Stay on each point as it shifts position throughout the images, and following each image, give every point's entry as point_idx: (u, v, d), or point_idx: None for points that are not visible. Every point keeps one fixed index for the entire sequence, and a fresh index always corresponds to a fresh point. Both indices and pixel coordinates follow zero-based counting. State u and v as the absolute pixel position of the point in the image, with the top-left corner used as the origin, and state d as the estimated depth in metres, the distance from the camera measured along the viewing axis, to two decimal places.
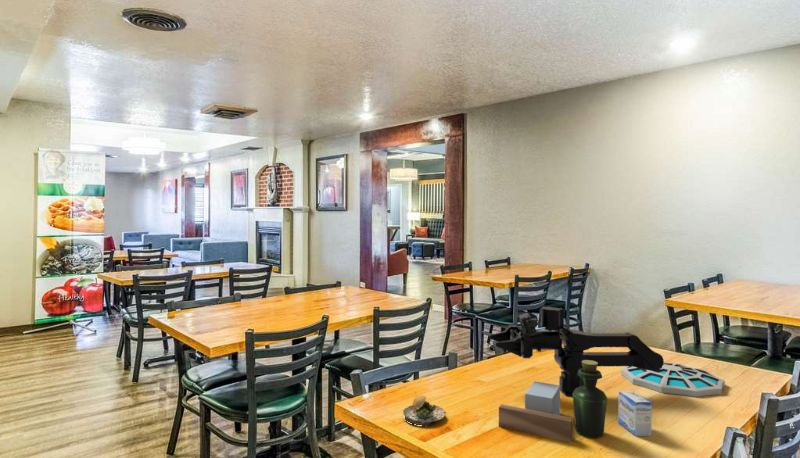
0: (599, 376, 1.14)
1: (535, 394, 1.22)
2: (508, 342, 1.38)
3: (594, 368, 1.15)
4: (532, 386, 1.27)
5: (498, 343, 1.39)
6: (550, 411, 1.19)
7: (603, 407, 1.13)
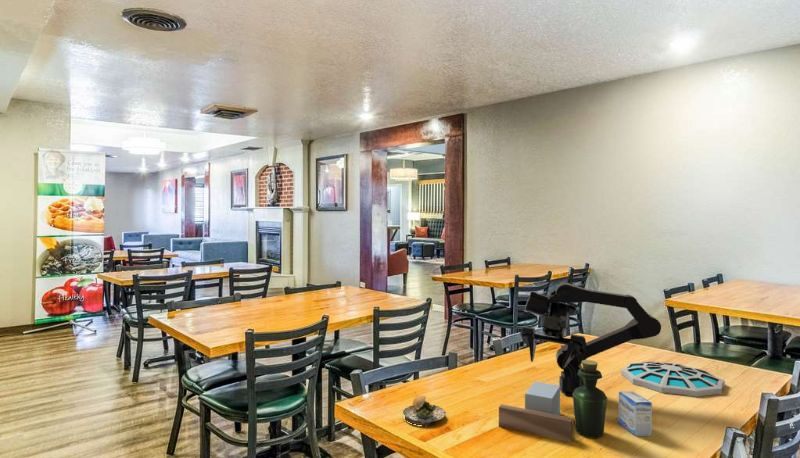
0: (599, 376, 1.14)
1: (535, 394, 1.22)
2: (569, 355, 1.33)
3: (594, 368, 1.15)
4: (532, 386, 1.28)
5: (564, 365, 1.32)
6: (550, 411, 1.19)
7: (603, 407, 1.13)
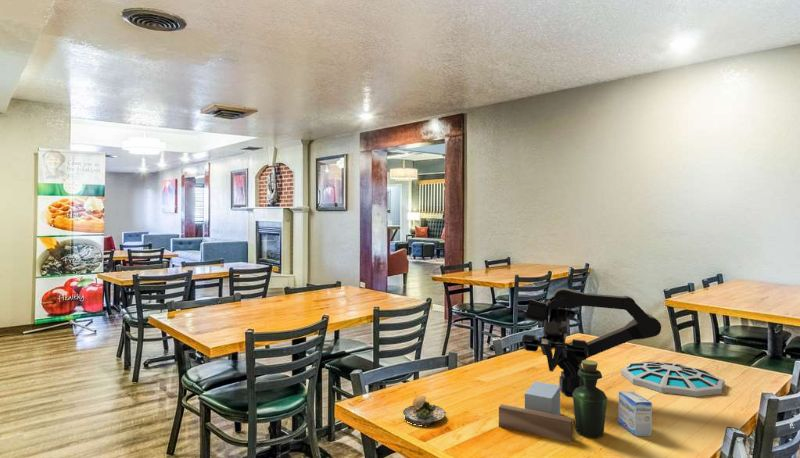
0: (599, 376, 1.14)
1: (535, 394, 1.22)
2: (556, 358, 1.35)
3: (594, 368, 1.15)
4: (532, 386, 1.28)
5: (552, 368, 1.34)
6: (550, 411, 1.19)
7: (603, 407, 1.13)
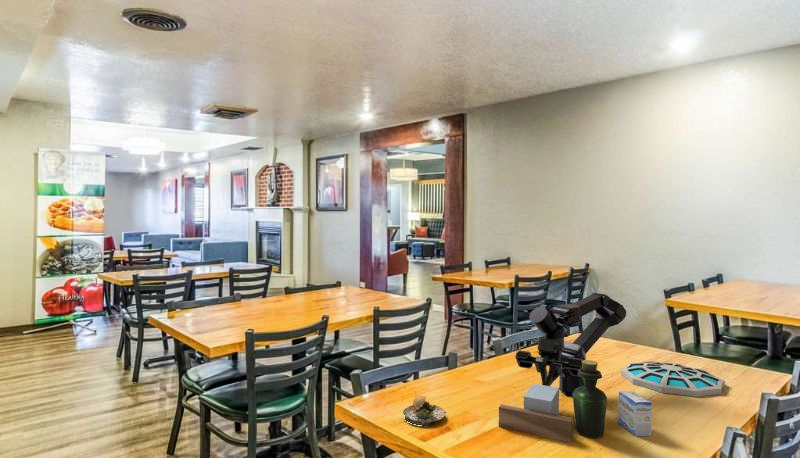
0: (599, 376, 1.14)
1: (534, 397, 1.19)
2: (551, 377, 1.29)
3: (594, 368, 1.15)
4: (531, 389, 1.25)
5: None
6: None
7: (603, 407, 1.13)
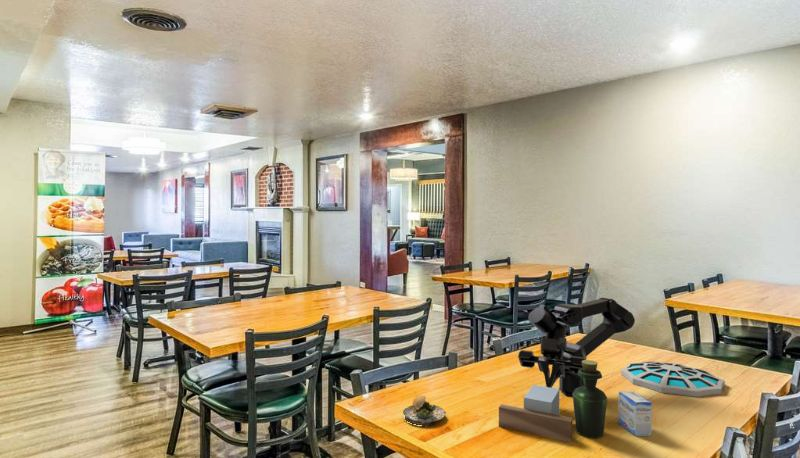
0: (599, 376, 1.14)
1: (534, 398, 1.19)
2: (554, 376, 1.31)
3: (594, 368, 1.15)
4: (531, 390, 1.25)
5: (550, 386, 1.30)
6: None
7: (603, 407, 1.13)
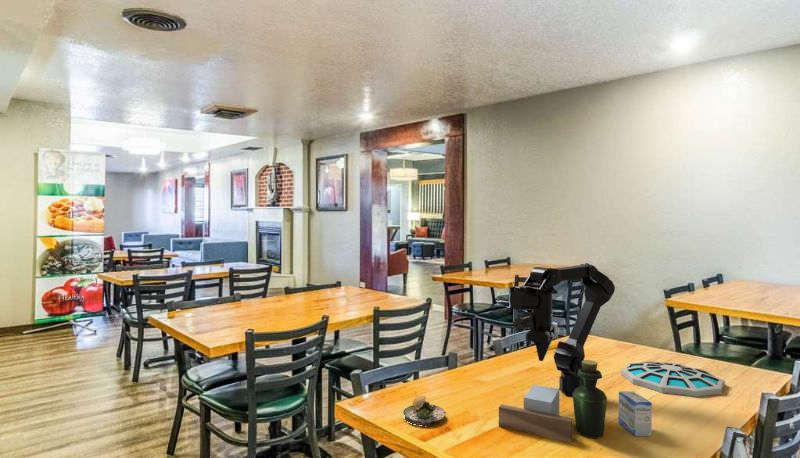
0: (599, 376, 1.14)
1: (534, 398, 1.19)
2: (537, 349, 1.37)
3: (594, 368, 1.15)
4: (531, 390, 1.25)
5: (540, 358, 1.37)
6: None
7: (603, 407, 1.13)
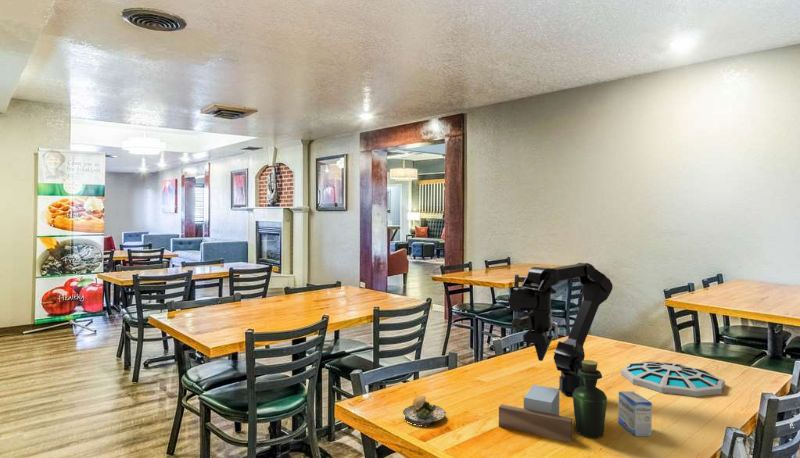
0: (599, 376, 1.14)
1: (534, 398, 1.19)
2: (536, 349, 1.37)
3: (594, 368, 1.15)
4: (531, 390, 1.25)
5: (539, 358, 1.38)
6: None
7: (603, 407, 1.13)
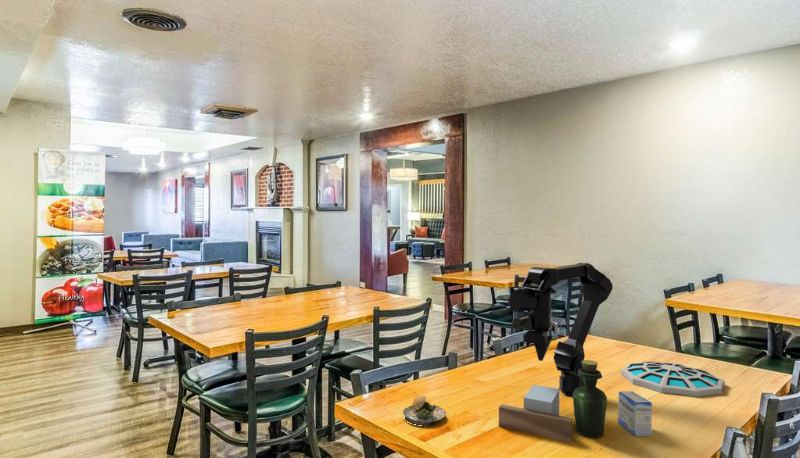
0: (599, 376, 1.14)
1: (534, 398, 1.19)
2: (536, 349, 1.37)
3: (594, 368, 1.15)
4: (531, 390, 1.25)
5: (539, 358, 1.38)
6: None
7: (603, 407, 1.13)
